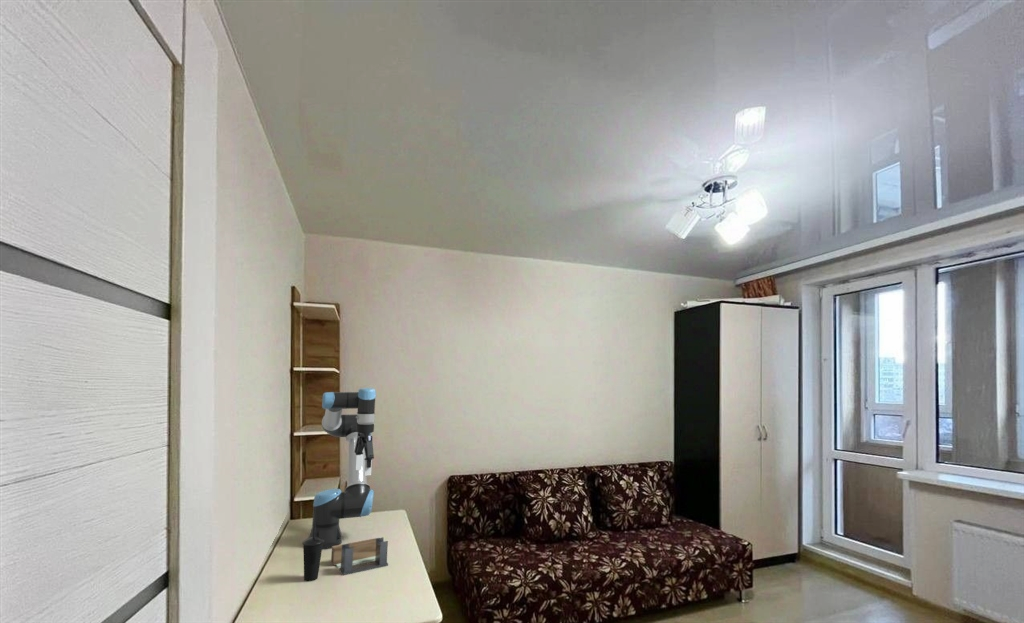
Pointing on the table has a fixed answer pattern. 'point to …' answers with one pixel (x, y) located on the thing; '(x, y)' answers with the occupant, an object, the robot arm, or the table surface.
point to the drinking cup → (312, 556)
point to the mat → (359, 561)
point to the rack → (379, 561)
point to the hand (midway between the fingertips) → (363, 472)
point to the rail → (355, 550)
